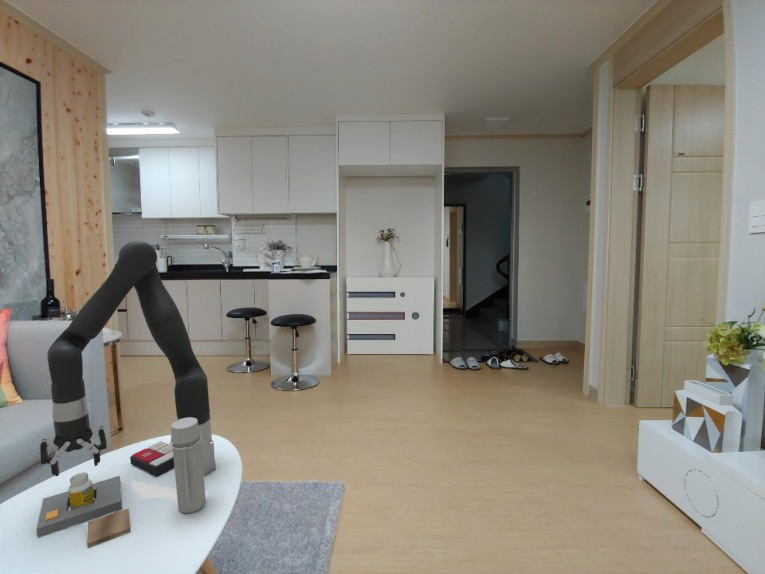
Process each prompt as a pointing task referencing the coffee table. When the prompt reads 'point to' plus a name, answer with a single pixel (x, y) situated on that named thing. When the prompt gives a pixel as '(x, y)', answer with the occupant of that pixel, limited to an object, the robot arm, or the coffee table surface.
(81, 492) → the supplement bottle
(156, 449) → the calculator
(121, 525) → the coaster pad
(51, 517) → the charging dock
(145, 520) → the coffee table surface
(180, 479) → the water bottle
